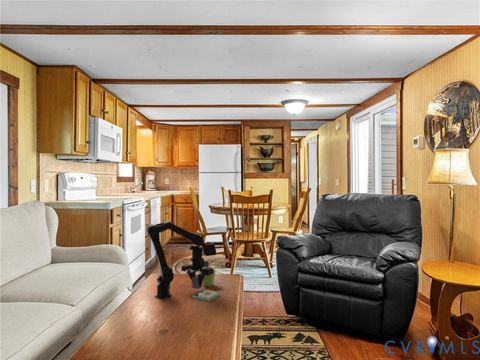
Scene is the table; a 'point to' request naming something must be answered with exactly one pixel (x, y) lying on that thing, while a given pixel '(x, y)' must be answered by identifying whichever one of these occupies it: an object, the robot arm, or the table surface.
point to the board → (206, 295)
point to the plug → (195, 282)
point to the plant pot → (209, 279)
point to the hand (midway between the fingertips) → (197, 284)
